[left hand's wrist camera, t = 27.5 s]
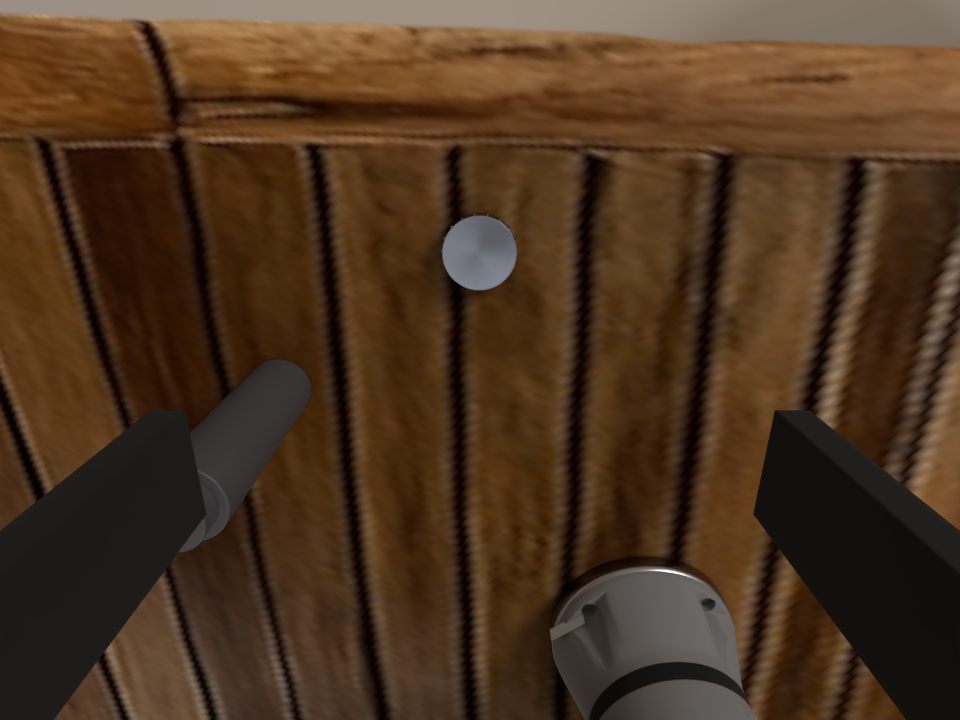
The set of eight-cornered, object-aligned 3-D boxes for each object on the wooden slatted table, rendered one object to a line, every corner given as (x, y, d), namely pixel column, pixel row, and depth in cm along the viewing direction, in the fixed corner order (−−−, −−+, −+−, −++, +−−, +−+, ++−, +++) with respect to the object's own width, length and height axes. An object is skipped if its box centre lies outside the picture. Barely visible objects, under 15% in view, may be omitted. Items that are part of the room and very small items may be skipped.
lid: (436, 277, 38) (434, 283, 36) (450, 203, 36) (449, 206, 35) (506, 292, 38) (507, 298, 37) (524, 220, 37) (525, 223, 35)
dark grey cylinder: (272, 346, 40) (149, 465, 25) (323, 384, 41) (234, 519, 26) (238, 390, 41) (102, 527, 26) (289, 425, 42) (186, 577, 27)
